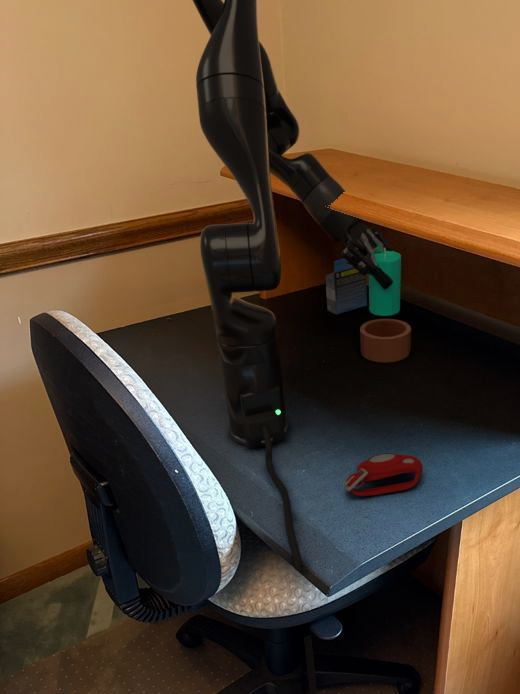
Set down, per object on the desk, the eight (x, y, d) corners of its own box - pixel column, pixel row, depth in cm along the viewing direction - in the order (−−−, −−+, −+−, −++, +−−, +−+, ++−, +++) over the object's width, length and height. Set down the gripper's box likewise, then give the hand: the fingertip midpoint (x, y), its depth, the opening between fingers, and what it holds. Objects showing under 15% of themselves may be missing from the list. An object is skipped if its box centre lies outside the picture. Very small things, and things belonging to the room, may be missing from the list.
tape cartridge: (357, 301, 158) (356, 248, 150) (367, 306, 155) (367, 252, 148) (326, 310, 153) (323, 256, 146) (336, 315, 151) (334, 261, 144)
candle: (400, 304, 132) (401, 242, 125) (399, 316, 127) (400, 252, 120) (370, 303, 133) (370, 242, 125) (367, 315, 128) (367, 252, 121)
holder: (418, 356, 133) (419, 333, 130) (373, 366, 130) (372, 342, 127) (396, 338, 140) (397, 315, 137) (353, 346, 137) (352, 323, 134)
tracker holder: (363, 449, 104) (425, 444, 100) (368, 476, 105) (429, 472, 101) (335, 476, 93) (403, 473, 89) (341, 506, 94) (408, 503, 91)
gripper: (330, 205, 115) (395, 281, 118) (360, 186, 125) (419, 257, 129) (304, 233, 119) (367, 306, 123) (336, 213, 130) (393, 281, 134)
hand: (394, 281), depth 126 cm, fingers closed on candle, 4 cm apart
